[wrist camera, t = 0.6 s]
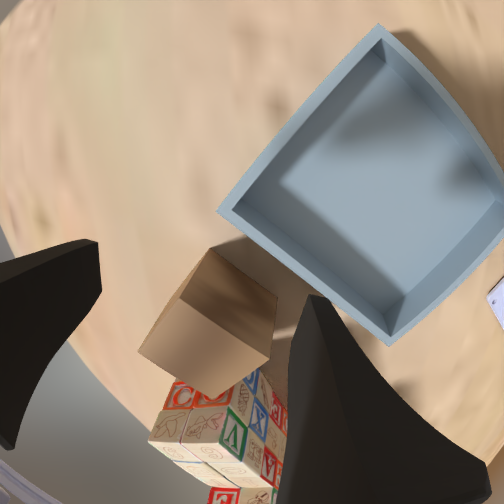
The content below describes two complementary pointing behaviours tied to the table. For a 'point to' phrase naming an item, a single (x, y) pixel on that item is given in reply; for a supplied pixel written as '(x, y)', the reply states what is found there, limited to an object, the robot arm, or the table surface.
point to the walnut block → (213, 328)
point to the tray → (376, 190)
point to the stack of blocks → (226, 439)
